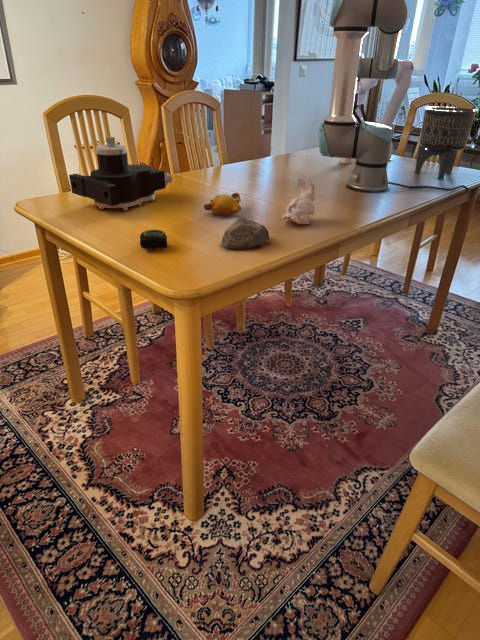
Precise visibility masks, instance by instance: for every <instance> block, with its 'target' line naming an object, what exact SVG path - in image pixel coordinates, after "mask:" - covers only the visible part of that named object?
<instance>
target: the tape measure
mask: <svg viewBox="0 0 480 640" xmlns="http://www.w3.org/2000/svg"><path fill="white" fill-rule="evenodd" d="M167 236H168V235H167V234H166V232H165V231H164V230H161V229H147V230H144V231H143V232H141V233H140V235H139V240H140V241H139V245H140V246H139V247H141V248H142V249H146V250H157V249H167V248H168V240H167V239H168V237H167Z"/></svg>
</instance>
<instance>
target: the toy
mask: <svg viewBox="0 0 480 640" xmlns="http://www.w3.org/2000/svg"><path fill="white" fill-rule="evenodd" d="M241 201H242V199H241V195H240V193H237V192H233V193H231V195H230V194H227V193H224V194H218V195H216V196H214V197H213V199H210V202H208V203H205V204H204V205H203V209H204V211H211V212H212V213H213V214H219V215H221V216H232V215H235V214H237V213H239V212H241V210H242V205H241V204H240V203H241Z"/></svg>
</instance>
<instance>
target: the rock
mask: <svg viewBox="0 0 480 640" xmlns="http://www.w3.org/2000/svg"><path fill="white" fill-rule="evenodd" d="M269 241H270V233H269V230H268V229H267V228H266V226H265V225H263V224H261V223H259V222H256V221H255V220H252V219H247V218H245V217H241V216H238V217H237V218H236V219H235V221H234V222H233V223H232V224H231V225H229V226H228V227H227V228H226V229H225V231H224V233H223V236H222V239H221V244H222V247H224V248H229V249H231V250H245V249H254V248H257V247H259V246H260V245H264V244H266V242H269Z"/></svg>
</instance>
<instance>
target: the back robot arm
mask: <svg viewBox="0 0 480 640" xmlns="http://www.w3.org/2000/svg"><path fill="white" fill-rule="evenodd" d="M398 60H399V65H398V71H397V76H396V78H395V79H393V80H394V82H395V84H396V85H395V88H394V90H393V93H392V95H391V97H390V100H389V101H388V102H389V103H388V105H387V107H386V109H385V112H384V114H383V116H382V118H381V119H380V120H379V121H378V122H377V123H379V124H383V125H386V126H389V127H390V128H391V129H392V137H393V136H394V134H395V133H394V132H395V128H396V125H395V123H394V122H395V121H396V117H397V115H398V113H399V110H400V109H401V107H402V104H403V102H404V100H405V97H406V95H407V94H408V91H409V89H410V86H411V83H412V75H413V73H414V71H415V65H414V62H413V61H412V60H411V59H398ZM381 80H382V79H365V78H360V86H359V91H357V93H358V101H357V104H358V105H359V104H364V101H365V97H366V94H367V93H368V91H369V90H370V89H372V88H374V87H375V86H377V85H378V83H379V81H381ZM355 111H356V113H357V115H358V116H359V118H360V120H361V121H362V122H364V120H363V117H362V114H361V111H360V109H359V108H357V109H356V110H355ZM352 115H353V114H352ZM353 117H354V118H355V116H354V115H353ZM355 120H356V118H355ZM355 125H356V126H360V124H359V123H358V121H357V120H356V122H355ZM393 149H394V144H393V141H392V142H391V144H390V150H389V156H388V161H392V160H393V159H392V154H393V151H394V150H393Z"/></svg>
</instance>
